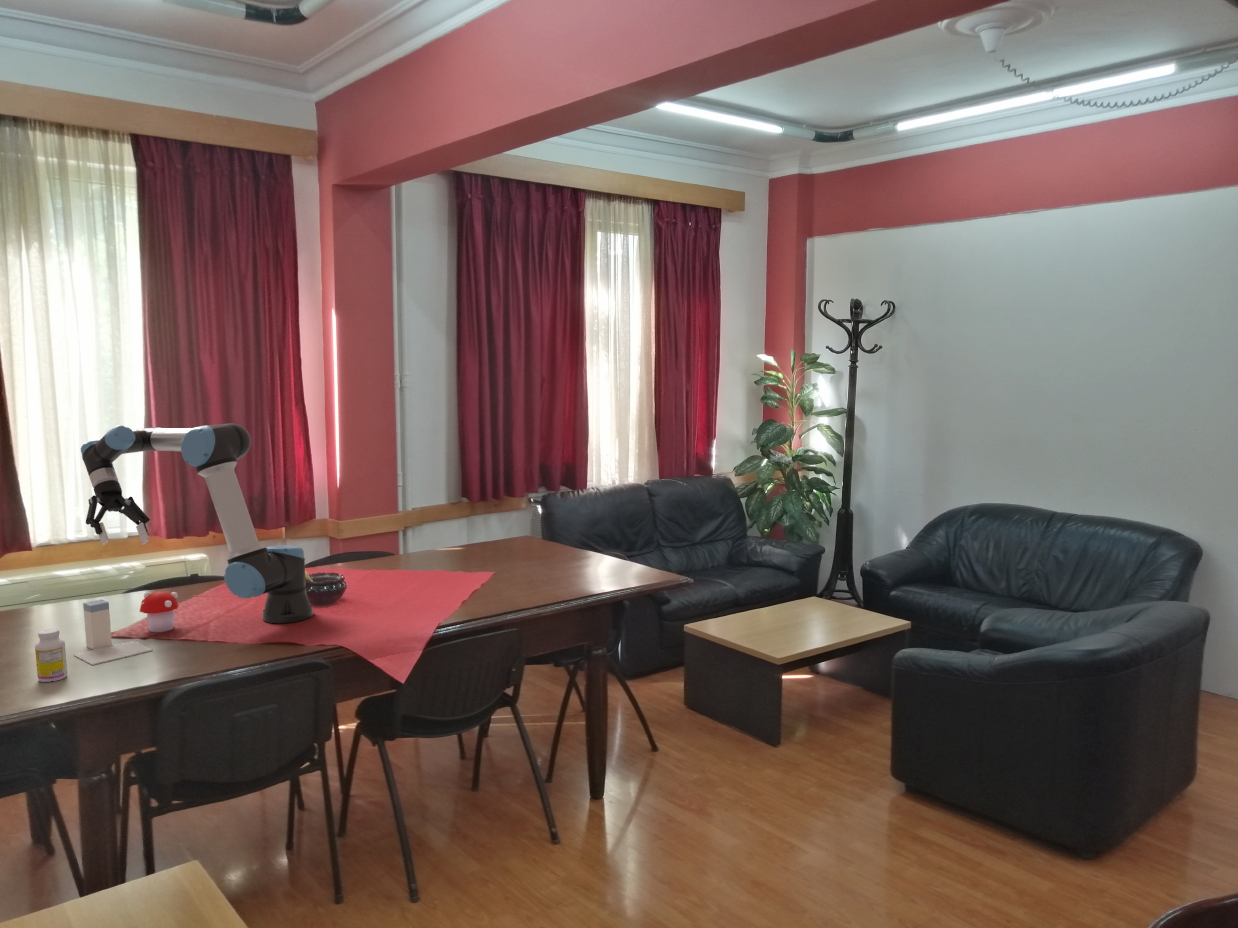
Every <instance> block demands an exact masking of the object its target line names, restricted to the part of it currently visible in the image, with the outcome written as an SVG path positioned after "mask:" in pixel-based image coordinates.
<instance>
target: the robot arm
mask: <svg viewBox="0 0 1238 928" xmlns="http://www.w3.org/2000/svg"><path fill="white" fill-rule="evenodd" d="M251 445H252V437H251V435H250V433H249V431H248V430H247V429H246V428H245V427H244V426H243V425H240V424H237V423H230V422H229V423H222V424H210V425H207V424H205V425H200V426H196V427H192V428H191V427H188V428H181V427H180V428H179V427H178V428H175V427H173V428H171V427H170V428H167V427H166V428H165V427H163V428H162V427H157V426H156V427H155V426H154V427H153V426H152V427H145V428H137V429H131V428H130V427H128V426H124V425H122V424H118V425H117V424H116V425H115V426H113V427H112V428H111V429H109V430H108V431H107V432H106V433H105V434H104V435H103V436H102V438H100V439H91V440H89V441H88V442H85V443H83V444H82V445H81V448H80V454H81V459H82V461H83V463H84V466H85V469H86V471H87V474H88V477H89V480H90V483H91V487H92V488H93V491H94V495H92V496H91V497H90V498H89V499H88V504H89V505H88V510H87V514H86V517H85V524H86V525H90V527H91V528H94V532H95V534H96V535H98V538H99V540H100V544H101V546H105V545H106V544H108V542H110V539H109V536H108V532H107V531H106V526H105V524H104V522H102V519H103V518H104V515H105V514H106V512H110V513H111V512H118V513H120V514H122V515H124V516H125V517H127V518H128V519H129V520H131V521H132V522H133V523H134V524H136V526H135V527H136V531H137V533H138V537H139V539H140V541H141V544H142V545H145V544H146V543H148V542H149V541H150V538H149V535H148V529H147V524H148V522H150V520H151V519H150V518H149V516H148V515H147V514H146V513H145V512H144V511H143V510H142V509H141V508H140V506H139V505H138V504H137V502H135V500H134V498H133V497H132V496H129V497H128V498H125V497H124V496H123V490H122V487H121V484H120V482H119V478H118V475H117V473H116V470H115V468H114V463H113V462H114V461H116V460H117V459H118V458H119V457H120V456H122V455H124V454H125V455H126V454H133V453H139V452H155V451H156V452H164V451H165V452H181V457H182V458H183V459H182V460H184V462H185V463H186V464H188V465H189V466H191V467H195V469H196V473H197V475H199V476H201V477H203V478H204V479H205V483H206V485H207V488H208V492H209V493H210V494H209V495H210V498H211V501H212V503H213V506H214V509H215V512H216V515H217V517H218V520H219V523H220V527H221V530H222V532H223V536H224V538H225V541H226V545H227V548H228V551H229V554H228V556H227V558H226V561H227V565H228V566H227V567H226V568H225V570H224V576H223V580H224V582H225V585H226V588H227V589H228V590H229V591H230V593H232V595H234V596H237V597H238V598H240V599H244V600H245V599H247V600H248V599H251V598H257V597H260V596H261V595H264V594H266V593H267V595H266V599H265V603H264V609H262V620H263V621H264V622H266V623H270V624H288V623H296V622H300V621H301V622H302V621H305V620H308V619H310V618H311V617H313V615H314V611H313V606H312V605H311V602H310V598H309V596H308V594H307V588H306V584H307V583H306V564H305V563H306V562H305V561H306V558H305V553H304V549H303V548H302V547H301V546H298V545H297V546H296V545H269V546H266V545H263V544H261V543H260V542H259V539H258V536H257V533H256V530H255V527H254V524H253V521H252V518H251V515H250V513H249V512H250V511H249V509H248V507H247V504H246V501H245V498H244V497H245V496H244V494H243V492H242V488H241V487H240V482H239V480H238V476H237V473H236V472H235V468H236V466H237V464H238V461H237V460H239V459H241V458H243V457H245V456H246V455H247V453H248V452H249V451H250V448H251ZM98 504H99V505H100V506H101V507H100V509H99V511H98V513H97V515H96V512H97V507H98ZM95 515H96V516H95Z"/></svg>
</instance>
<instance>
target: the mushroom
mask: <svg viewBox="0 0 1238 928" xmlns="http://www.w3.org/2000/svg"><path fill="white" fill-rule="evenodd" d="M178 597H179V594H178V592H177V591H176V592H175V591H173V592H171V593H169V592H166V591H164V590H160V591H159V590H157V591H154V592H150V591H146V592H145V593H144V594H143V599H142V600H141V604H140V608H139V612H140V613H143V614H146V622H147V625H148V630H149V632H151V633H164V632H168V631H171V630H172V629H174V626H175V617H176V616H175V612H174V610H177V609H178V608H179V603H178V600H177V599H178Z"/></svg>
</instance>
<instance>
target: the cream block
mask: <svg viewBox="0 0 1238 928" xmlns="http://www.w3.org/2000/svg"><path fill="white" fill-rule="evenodd" d="M109 604H110V603H109V601H107V600H104V599H102V598H101V599H97V600H91V601H87V602H83V603H82V606H83V616H84V617H83V618H84V631H85V644H86V647H87V648H88V649H90V650H92V649H93V650H95V649H99V648H103V647H108V646H112V645H113V643H112V642H113V641H112V640H113V639H112V631H111V615H110V605H109Z"/></svg>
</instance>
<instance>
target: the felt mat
mask: <svg viewBox="0 0 1238 928" xmlns="http://www.w3.org/2000/svg"><path fill="white" fill-rule="evenodd" d="M149 652H153V649H152V648H150V647H149V646H145V645H143V644H142V643H139V642H137V641H135V640H130V641H126V642H122V643H117V644H112V646H108V647H103V648H99V649H95V650H92V649H90V650H86V651H83V652H78V653H74V654H73V656H74V657H75V656H76V658H77V657H78V658H77V659H79V660H81V659H82V660H81V661H83V662H85V663H86V662H87V664H88V663H89V665H90V666H96V665H100V664H104V663H108V662H112V661H113V662H114V661H116V660H120V659H123V658H129V657H133V656H138V655H141V654H145V653H149Z"/></svg>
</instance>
